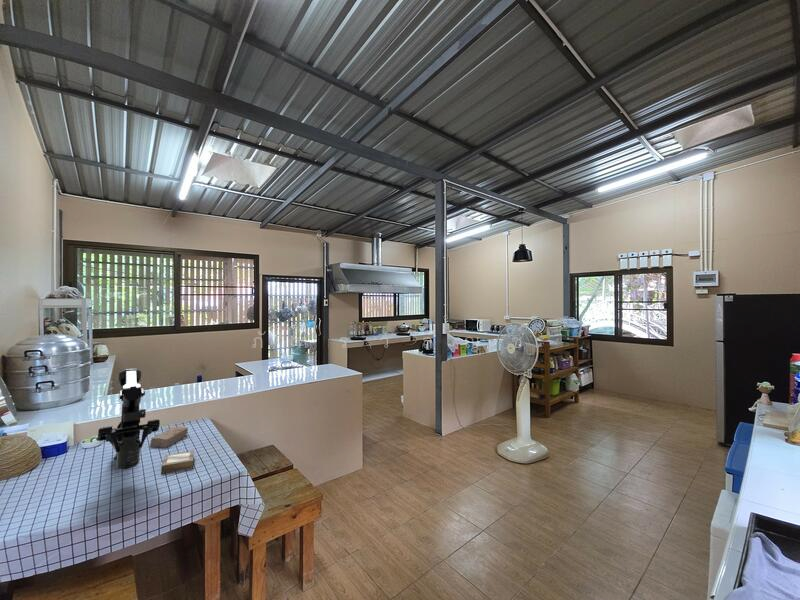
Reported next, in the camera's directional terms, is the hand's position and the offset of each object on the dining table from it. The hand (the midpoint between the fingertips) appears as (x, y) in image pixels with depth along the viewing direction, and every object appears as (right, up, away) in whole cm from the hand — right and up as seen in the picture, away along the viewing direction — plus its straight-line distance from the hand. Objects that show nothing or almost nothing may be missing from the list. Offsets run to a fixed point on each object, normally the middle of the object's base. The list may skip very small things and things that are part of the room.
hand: (129, 449), depth 122 cm
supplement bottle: (-1, -7, +1) cm, 7 cm away
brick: (-15, -15, +41) cm, 46 cm away
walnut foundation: (+8, -14, +16) cm, 23 cm away
